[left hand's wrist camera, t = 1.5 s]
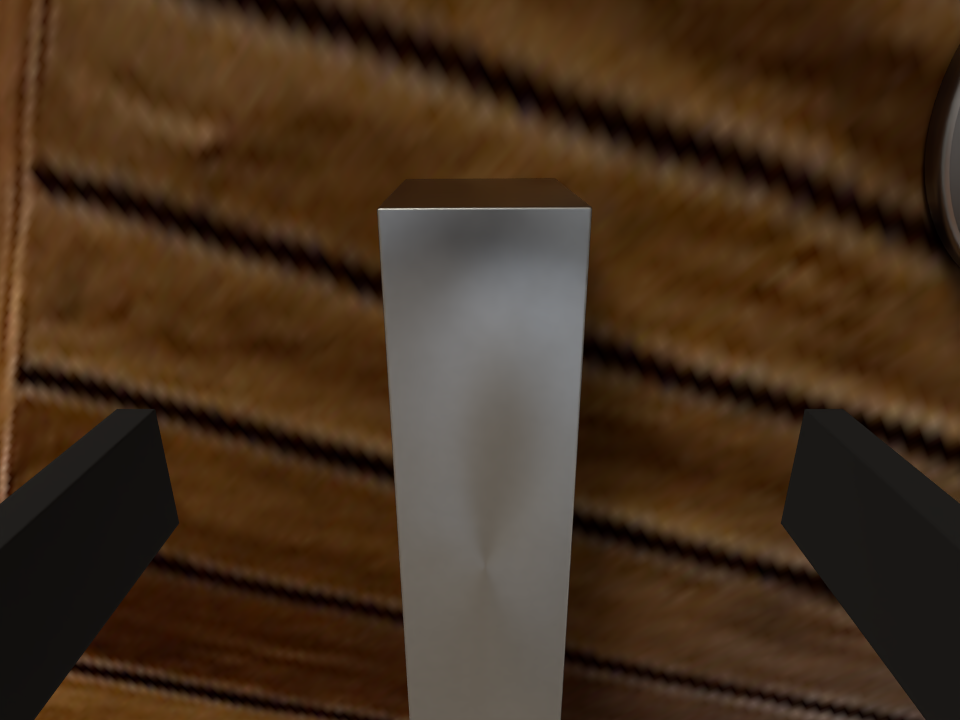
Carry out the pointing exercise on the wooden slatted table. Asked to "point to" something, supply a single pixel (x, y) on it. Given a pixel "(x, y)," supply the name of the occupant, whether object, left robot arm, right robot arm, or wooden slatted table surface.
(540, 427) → the bar
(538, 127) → the wooden slatted table surface
